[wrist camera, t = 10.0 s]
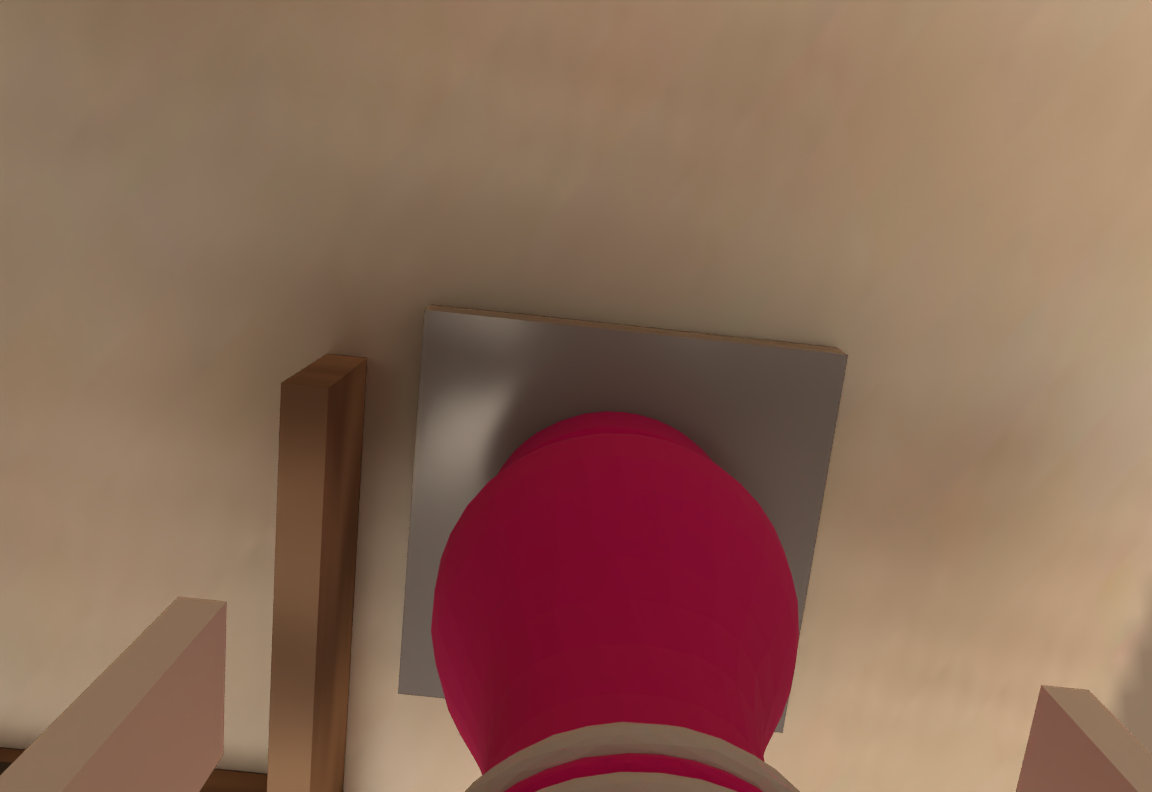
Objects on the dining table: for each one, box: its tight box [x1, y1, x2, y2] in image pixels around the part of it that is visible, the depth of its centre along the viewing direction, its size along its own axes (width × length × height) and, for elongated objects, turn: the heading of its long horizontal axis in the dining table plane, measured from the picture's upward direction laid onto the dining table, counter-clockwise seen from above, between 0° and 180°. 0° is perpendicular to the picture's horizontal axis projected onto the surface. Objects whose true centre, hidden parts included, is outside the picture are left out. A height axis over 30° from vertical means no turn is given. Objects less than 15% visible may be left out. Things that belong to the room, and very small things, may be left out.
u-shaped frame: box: [0, 354, 367, 792], centre depth 23 cm, size 13×13×4 cm
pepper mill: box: [431, 411, 800, 792], centre depth 13 cm, size 7×7×20 cm
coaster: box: [398, 305, 848, 733], centre depth 23 cm, size 10×10×1 cm
